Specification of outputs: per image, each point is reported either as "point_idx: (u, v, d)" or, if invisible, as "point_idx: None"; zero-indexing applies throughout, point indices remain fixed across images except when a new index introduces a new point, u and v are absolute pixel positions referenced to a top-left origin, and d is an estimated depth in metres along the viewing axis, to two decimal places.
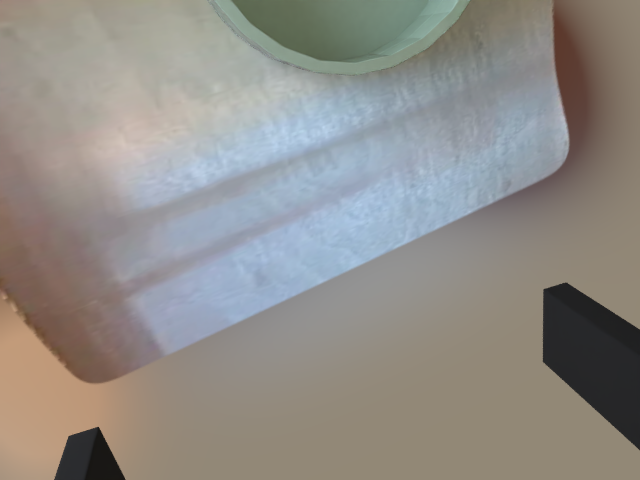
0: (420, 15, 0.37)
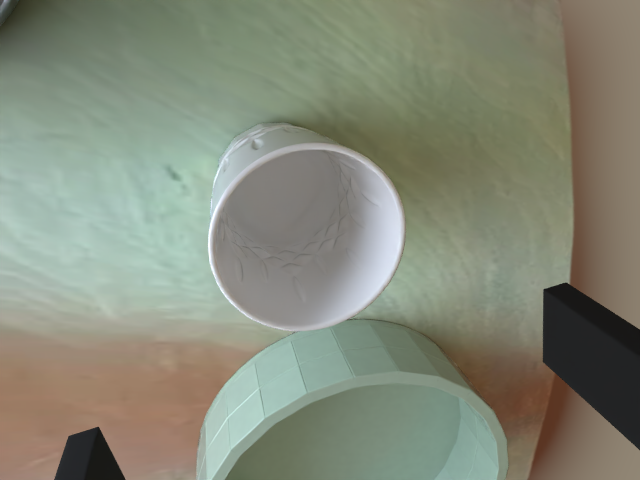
0: None
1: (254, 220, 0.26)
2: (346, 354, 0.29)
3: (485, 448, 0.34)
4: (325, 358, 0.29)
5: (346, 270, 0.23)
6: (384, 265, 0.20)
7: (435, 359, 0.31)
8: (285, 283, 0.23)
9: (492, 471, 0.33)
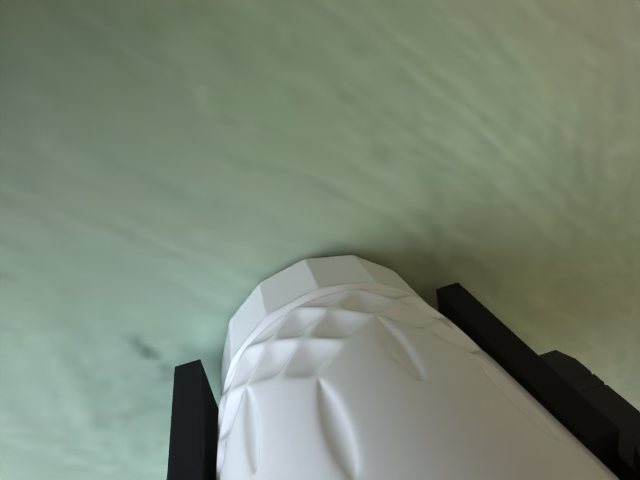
0: None
1: None
2: None
3: None
4: None
5: None
6: None
7: None
8: None
9: None
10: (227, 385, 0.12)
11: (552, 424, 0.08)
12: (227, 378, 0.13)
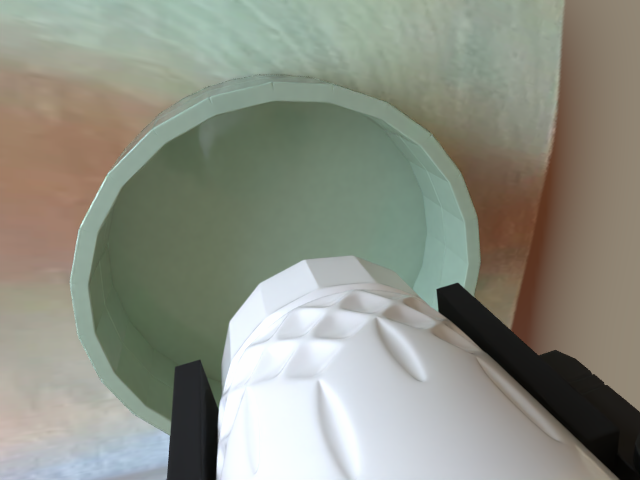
0: None
1: None
2: (269, 78, 0.22)
3: (453, 247, 0.27)
4: (242, 83, 0.22)
5: None
6: None
7: None
8: None
9: (461, 271, 0.27)
10: (227, 386, 0.12)
11: (553, 425, 0.08)
12: (227, 379, 0.13)
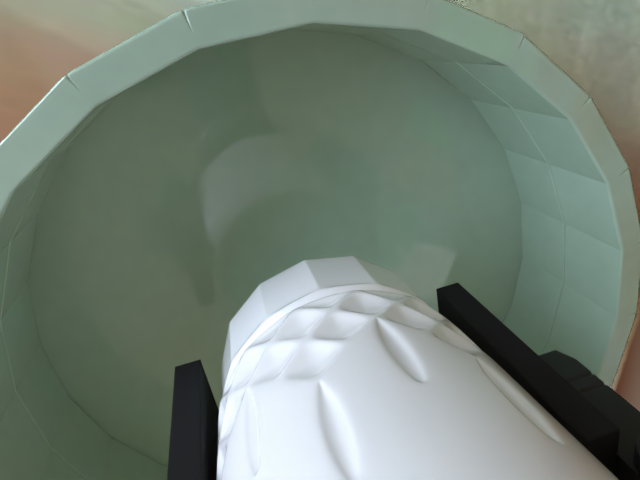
0: None
1: None
2: None
3: (584, 287, 0.17)
4: None
5: None
6: None
7: None
8: None
9: (599, 327, 0.17)
10: (227, 386, 0.12)
11: (553, 426, 0.08)
12: (227, 379, 0.13)
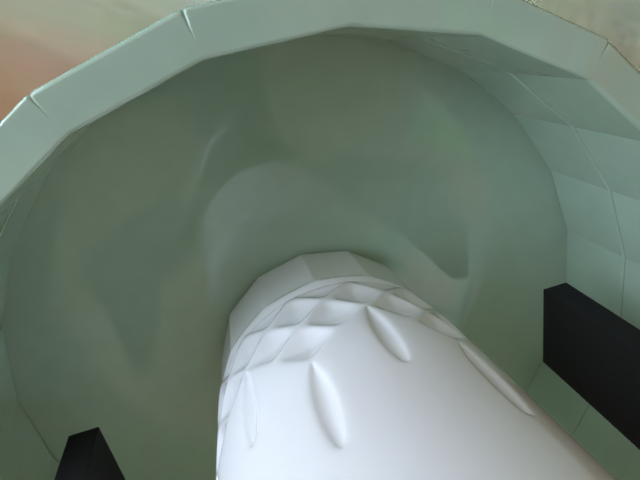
0: None
1: None
2: None
3: None
4: None
5: None
6: None
7: None
8: None
9: None
10: (227, 373, 0.13)
11: (526, 402, 0.09)
12: (227, 366, 0.13)
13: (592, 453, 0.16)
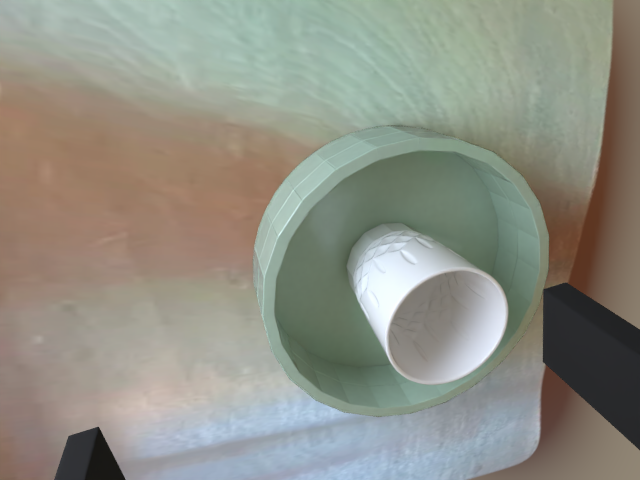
0: None
1: None
2: (407, 132, 0.31)
3: (525, 258, 0.36)
4: (387, 135, 0.31)
5: (454, 339, 0.32)
6: (489, 340, 0.30)
7: None
8: (410, 346, 0.32)
9: (532, 277, 0.35)
10: (359, 265, 0.33)
11: (466, 260, 0.29)
12: (357, 264, 0.34)
13: None
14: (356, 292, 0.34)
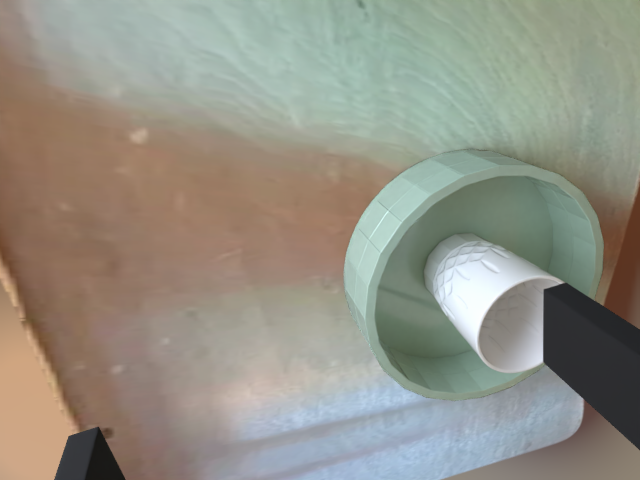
0: None
1: None
2: (485, 159, 0.36)
3: (581, 262, 0.41)
4: (468, 162, 0.36)
5: (525, 333, 0.37)
6: None
7: None
8: (486, 340, 0.38)
9: (587, 278, 0.40)
10: (439, 272, 0.39)
11: None
12: (437, 271, 0.39)
13: None
14: (437, 295, 0.39)
